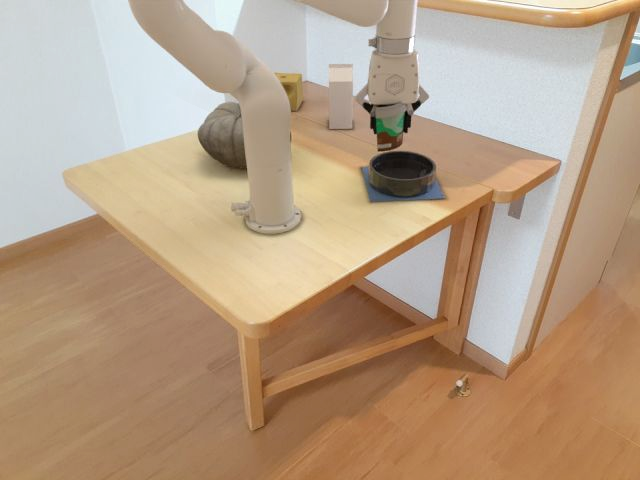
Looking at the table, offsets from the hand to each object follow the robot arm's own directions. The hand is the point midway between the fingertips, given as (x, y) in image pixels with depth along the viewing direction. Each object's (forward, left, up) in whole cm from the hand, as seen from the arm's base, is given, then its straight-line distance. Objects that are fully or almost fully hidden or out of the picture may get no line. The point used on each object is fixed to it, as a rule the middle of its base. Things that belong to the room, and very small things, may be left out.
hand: (389, 130), depth 111 cm
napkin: (+6, +11, -19) cm, 22 cm away
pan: (+6, +11, -19) cm, 22 cm away
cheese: (-23, +69, -19) cm, 75 cm away
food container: (+1, 0, -3) cm, 3 cm away
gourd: (-34, +28, -19) cm, 48 cm away
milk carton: (-6, +50, -19) cm, 53 cm away
